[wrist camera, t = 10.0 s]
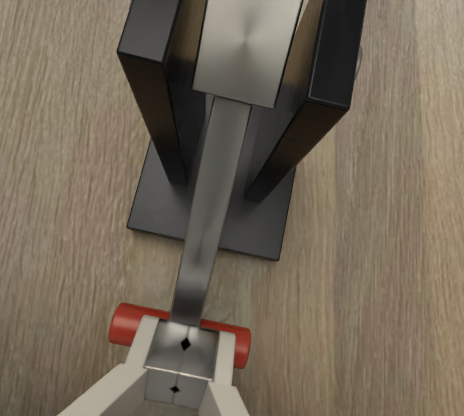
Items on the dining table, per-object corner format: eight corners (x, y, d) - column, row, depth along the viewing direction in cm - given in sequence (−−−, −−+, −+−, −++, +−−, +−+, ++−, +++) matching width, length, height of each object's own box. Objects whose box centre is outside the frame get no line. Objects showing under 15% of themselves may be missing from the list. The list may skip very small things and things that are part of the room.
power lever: (242, 340, 14) (242, 389, 11) (123, 316, 13) (100, 361, 11) (338, 21, 10) (367, -1, 7) (172, -22, 9) (150, -59, 7)
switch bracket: (274, 262, 18) (404, 256, 6) (130, 230, 18) (-8, 165, 6) (304, 99, 20) (447, -133, 8) (175, 67, 19) (135, -225, 8)
